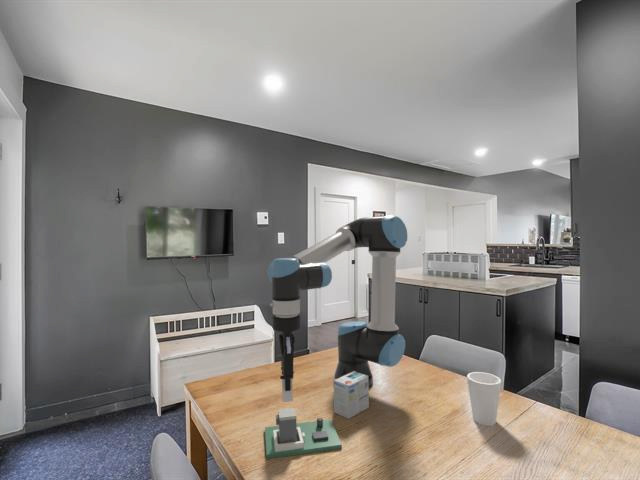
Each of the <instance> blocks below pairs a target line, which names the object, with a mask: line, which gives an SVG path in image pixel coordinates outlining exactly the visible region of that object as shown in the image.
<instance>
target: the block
mask: <svg viewBox="0 0 640 480" xmlns="http://www.w3.org/2000/svg"><path fill="white" fill-rule="evenodd" d="M277 413H278V414H276V415H275V424H276V425H275V426H279V444H283V443H290V442H297V425H296V424H297V414H296V409H295V407H288V408H280V409H278V410H277Z"/></svg>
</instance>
